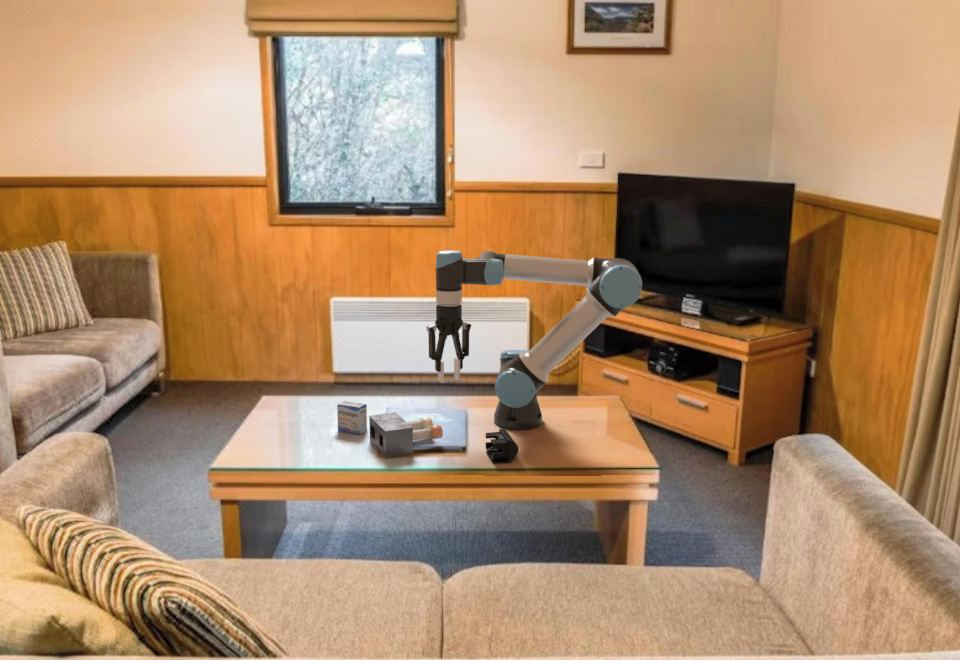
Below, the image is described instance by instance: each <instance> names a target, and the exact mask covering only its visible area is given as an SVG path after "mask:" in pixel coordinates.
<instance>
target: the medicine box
mask: <svg viewBox="0 0 960 660" xmlns="http://www.w3.org/2000/svg"><path fill="white" fill-rule="evenodd" d="M336 407H337V408H336V409H337V410H336V411H337V431H338V433H339V432H340V433H345V434H354V435H359V436H360V435H362V434H363V433H365V432H367V431H368V425H367V423H368V421H367V420H368V417H367V416H368V414H367V404H366V403H360V402H353V401H347V400H345V401H341V402H339V403H338V404H337V405H336Z"/></svg>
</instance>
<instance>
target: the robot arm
mask: <svg viewBox="0 0 960 660" xmlns="http://www.w3.org/2000/svg"><path fill="white" fill-rule="evenodd" d="M435 260H436V263H435V302H436V303H437V304H436V305H435V318H436V320H435V322H434V324H432V325H427V326H426V331H427V333H428V358H429V359H430V360H432V361H434V365H435V366H434V370H435V371H436V372H437V381H438V382H440V383H441V384H444V383H445V377H444V376H445V375H444V374H445V361H444V360H443V359H442V358H443V354H444V348H445V345H446V340H447V339H448V336H451V338H452V341H453V346H454V347H453V348H454V350H455V355H456V357H453V358H454V359H453V370H454V371H453V379H454V380H455V381H457V382H460V381H461V370H463V368H464V366H463V364H464V363H463V362H464V359H465V358H466V357H469V355H470V332H471V331H470V330H471V328H472V324H471V323H469V322H467V321H465V322H464V321H463V318H462V316H463V309H462V307H463V306H462V303H463V287H462V286H463V285H474V286H475V285H476V286H477V285H478V286H490V287H492V286H500V285H502V284H503V282H504V280H514V281H525V282H526V281H527V282H535V283H550V284H559V285H572V286H582V287H586V293H585V294H586V295H585V296H583V298H582V299H581V300H580V301H579V302H578V303H577V304H575V306H574V307H573V308H571V310H569V312H568V313H567V314H565V316H564V317H562V318H561V319H560V320H559V322H558V323H556V324H555V325H554V326H553V328H551V329H550V330H549V331H548V332H547V333H546V334H545V335H544V336H543V337H542V338H541V339H540V340H539V341H538V342H537V343H536V344H535V345H534V346H532V348H531V349H530V350H529V349H528V350H527V349H505V350H503V351H501V353H500V357H499V361H500V364H499V365H500V367H499V372H498V374H497V377H496V379H495V381H494V391H495V394H496V396H497V398H498V402H497V405H496V408H495V410H494V411H495V412H494V413H493V414H494V415H493V423H494V424H495V425H497V426H498V427H501V428H503V429H508V430H530V429H534V428H537V427H540V426H541V425H542V424H543V414H542V410H541V407H540V404H539V401H538V391H539V390H540V389H542V387H543V386H544V385H545V384H546V383H547V382H549V381H548V380H549V373H550V372H551V371H553V369H554V368H556V367H557V366H558V365H559V364H560V363H561V362H562V361H563V360H564V359H565V358H566V357H567V356H568V355H569V354H570V353H571V352H572V351H573V350H575V349H576V348H577V347H578V346H579V344H581V342H583V341H584V340H585V339H586V338H587V337H588V336H589V335H590V334H591V333H592V332H593V331H594V330H596V329H597V327H598V326H600V325H601V324H602V323H603V322H604V321H605V320H606V319H607V318H615V317H617V316H618V314H620V312H622V311H623V310H624V309H625V308H628V307H631V306H632V305H633V304H634V303H635V302H637V301H638V299H639V297H640V295H641V293H642V290H643V280H642V277H641V274H640V273H639V271H638V269H637V266H635V265H634V263H633V262H631V261H629V260H627V259H625V258H620V257H619V258H617V257H616V258H613V257H612V258H611V257H610V258H609V257H607V258H606V257H604V258H603V257H591V259H590V260H584V259H572V258H571V259H570V258H558V257H545V256H535V255H534V256H531V255H522V254H521V255H520V254H509V253H508V254H507V253H506V254H505V253H497V252H495V251H492V250H488V251H487V250H486V251H484V252H482V253H480V254H478V256H477V258H465V257H463V254H462V252H461V251H460V250H452V249H451V250H450V249H449V250H440V251H438V252H437V254H436V255H435ZM460 329H462V330H461V332H462V333H461V340H460V333H459V330H460ZM437 330H438V331H439V332H438V339H437V341H436V332H437ZM436 342H437V344H436Z"/></svg>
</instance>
